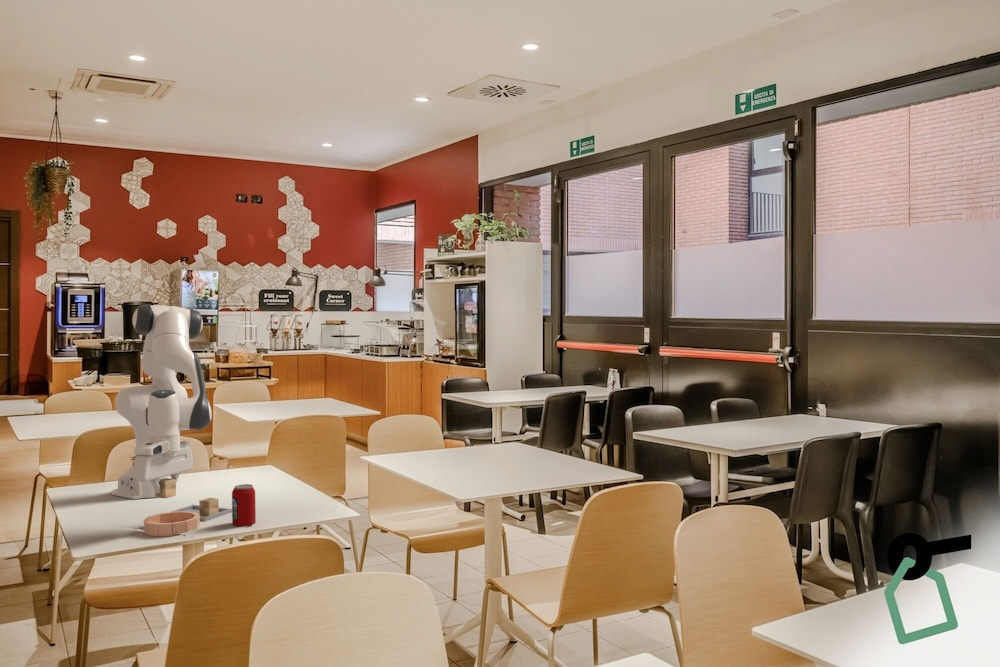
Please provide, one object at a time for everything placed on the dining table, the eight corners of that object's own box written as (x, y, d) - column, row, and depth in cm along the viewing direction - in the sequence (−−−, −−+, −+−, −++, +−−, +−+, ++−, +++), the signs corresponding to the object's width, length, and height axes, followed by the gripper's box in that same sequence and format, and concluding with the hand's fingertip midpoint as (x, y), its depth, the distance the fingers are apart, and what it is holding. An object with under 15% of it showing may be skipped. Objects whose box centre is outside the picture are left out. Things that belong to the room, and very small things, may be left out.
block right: (199, 516, 255) (199, 500, 254) (208, 513, 258) (208, 497, 258) (209, 517, 253) (209, 501, 253) (218, 514, 257) (218, 498, 257)
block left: (155, 497, 241) (155, 480, 241) (165, 494, 245) (165, 478, 244) (165, 498, 239) (165, 481, 239) (175, 495, 243) (175, 479, 243)
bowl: (133, 533, 237) (133, 521, 237) (171, 521, 251) (171, 509, 251) (172, 538, 232) (172, 526, 231) (209, 525, 245) (209, 513, 245)
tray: (165, 518, 255) (165, 513, 255) (193, 509, 266) (193, 504, 266) (205, 523, 249) (205, 517, 249) (232, 513, 260) (232, 508, 260)
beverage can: (235, 522, 249) (234, 484, 248) (257, 522, 249) (257, 483, 249) (229, 528, 242) (229, 488, 242) (253, 528, 242) (252, 488, 242)
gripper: (181, 439, 252) (182, 483, 253) (129, 449, 234) (130, 497, 234) (197, 440, 250) (198, 484, 250) (146, 450, 231) (147, 498, 231)
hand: (165, 490), depth 242 cm, fingers closed on block left, 4 cm apart
